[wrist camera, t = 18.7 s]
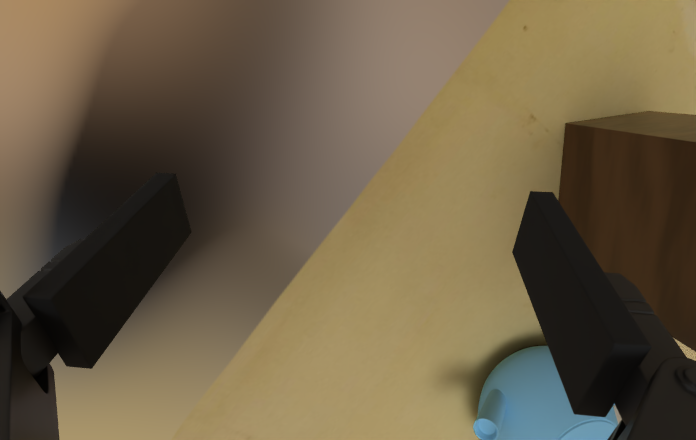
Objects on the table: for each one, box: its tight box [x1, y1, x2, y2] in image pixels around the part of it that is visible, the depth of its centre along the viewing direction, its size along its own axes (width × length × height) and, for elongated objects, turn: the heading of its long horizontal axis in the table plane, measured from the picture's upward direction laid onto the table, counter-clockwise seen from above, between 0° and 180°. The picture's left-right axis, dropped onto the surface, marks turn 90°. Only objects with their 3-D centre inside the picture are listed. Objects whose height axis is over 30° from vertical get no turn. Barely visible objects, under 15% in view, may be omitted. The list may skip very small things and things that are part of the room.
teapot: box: [473, 346, 618, 440], centre depth 45 cm, size 20×20×13 cm
